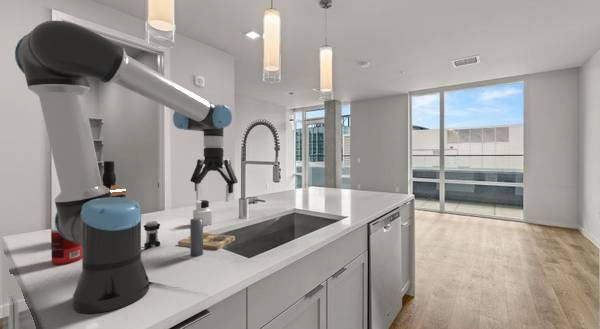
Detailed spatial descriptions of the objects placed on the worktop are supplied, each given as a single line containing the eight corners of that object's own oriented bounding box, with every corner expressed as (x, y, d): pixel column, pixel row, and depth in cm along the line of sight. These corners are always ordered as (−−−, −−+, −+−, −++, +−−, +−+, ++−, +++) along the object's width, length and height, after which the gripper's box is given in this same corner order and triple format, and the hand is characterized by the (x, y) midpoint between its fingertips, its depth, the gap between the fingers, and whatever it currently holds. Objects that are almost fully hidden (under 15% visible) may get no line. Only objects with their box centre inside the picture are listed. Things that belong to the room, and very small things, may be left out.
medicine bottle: (206, 221, 139) (206, 199, 138) (212, 224, 133) (212, 200, 133) (192, 223, 134) (192, 200, 134) (197, 226, 129) (197, 202, 128)
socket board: (217, 252, 94) (217, 245, 94) (178, 247, 99) (178, 240, 99) (234, 242, 105) (234, 235, 105) (199, 238, 110) (199, 231, 110)
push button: (142, 254, 92) (142, 225, 92) (137, 250, 96) (137, 223, 95) (162, 249, 97) (162, 222, 97) (157, 245, 101) (157, 219, 100)
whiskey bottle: (107, 240, 106) (106, 161, 105) (88, 238, 109) (87, 161, 108) (129, 233, 116) (129, 161, 115) (112, 231, 119) (111, 160, 118)
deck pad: (199, 263, 84) (199, 260, 84) (178, 260, 87) (178, 257, 87) (214, 254, 92) (214, 251, 92) (194, 252, 94) (194, 249, 94)
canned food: (87, 254, 91) (86, 223, 91) (77, 263, 84) (76, 229, 83) (59, 257, 88) (58, 225, 88) (46, 266, 81) (45, 231, 80)
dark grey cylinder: (197, 257, 87) (197, 221, 87) (187, 255, 88) (187, 220, 88) (205, 253, 91) (205, 218, 90) (195, 251, 92) (195, 217, 92)
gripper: (246, 147, 105) (246, 200, 106) (193, 147, 112) (193, 197, 113) (236, 146, 98) (236, 203, 98) (181, 147, 105) (181, 200, 106)
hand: (213, 200), depth 106 cm, fingers open, 13 cm apart
